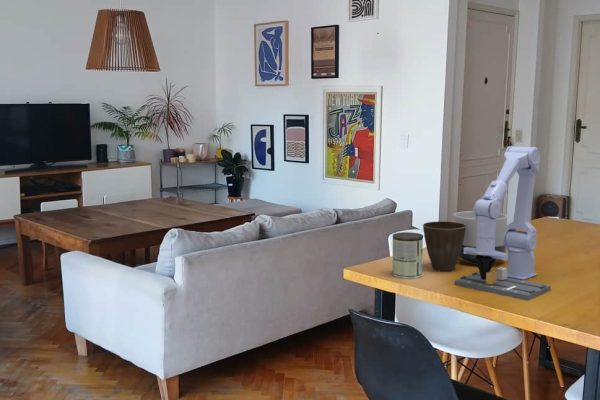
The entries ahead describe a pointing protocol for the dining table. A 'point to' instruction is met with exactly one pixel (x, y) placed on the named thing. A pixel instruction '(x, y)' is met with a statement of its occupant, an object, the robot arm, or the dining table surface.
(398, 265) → the coffee can
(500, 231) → the planter
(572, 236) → the dining table surface
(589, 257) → the dining table surface
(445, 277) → the dining table surface
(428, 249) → the plant pot
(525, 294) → the console
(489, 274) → the orange fader knob
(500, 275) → the grey fader knob
